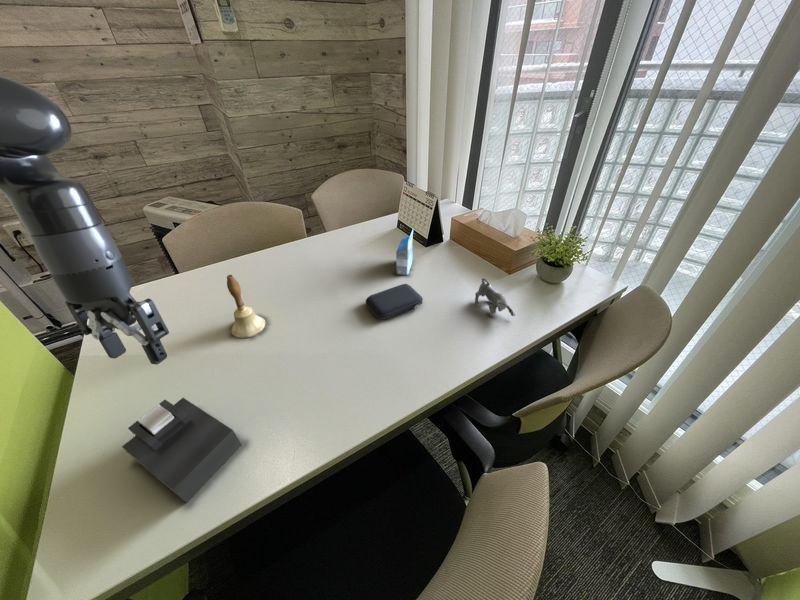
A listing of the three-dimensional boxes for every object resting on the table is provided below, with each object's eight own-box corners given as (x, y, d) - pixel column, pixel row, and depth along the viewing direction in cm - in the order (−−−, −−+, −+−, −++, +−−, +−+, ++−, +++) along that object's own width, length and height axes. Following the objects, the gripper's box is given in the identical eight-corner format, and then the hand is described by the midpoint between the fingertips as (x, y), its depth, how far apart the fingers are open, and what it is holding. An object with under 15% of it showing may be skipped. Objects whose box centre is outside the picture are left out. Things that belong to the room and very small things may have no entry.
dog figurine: (470, 300, 93) (474, 279, 89) (486, 294, 95) (490, 273, 91) (498, 325, 85) (503, 303, 80) (515, 318, 87) (521, 297, 82)
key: (142, 426, 56) (137, 420, 55) (162, 409, 58) (158, 404, 57) (154, 435, 54) (149, 430, 53) (175, 418, 57) (170, 412, 56)
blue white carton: (401, 259, 111) (401, 226, 103) (412, 261, 110) (413, 227, 102) (396, 274, 104) (395, 239, 96) (408, 275, 103) (408, 240, 95)
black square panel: (134, 459, 58) (113, 439, 54) (191, 411, 65) (176, 390, 61) (186, 503, 52) (167, 484, 48) (242, 445, 60) (229, 424, 56)
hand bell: (242, 315, 88) (222, 265, 78) (270, 318, 87) (254, 268, 78) (225, 336, 82) (201, 285, 72) (256, 339, 81) (235, 288, 71)
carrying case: (381, 326, 85) (427, 307, 91) (380, 317, 83) (428, 299, 89) (363, 304, 92) (407, 288, 98) (362, 295, 90) (407, 279, 96)
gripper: (15, 270, 42) (81, 368, 49) (95, 274, 38) (152, 379, 46) (78, 251, 48) (128, 340, 56) (152, 253, 45) (194, 348, 52)
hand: (139, 358), depth 51 cm, fingers open, 8 cm apart
